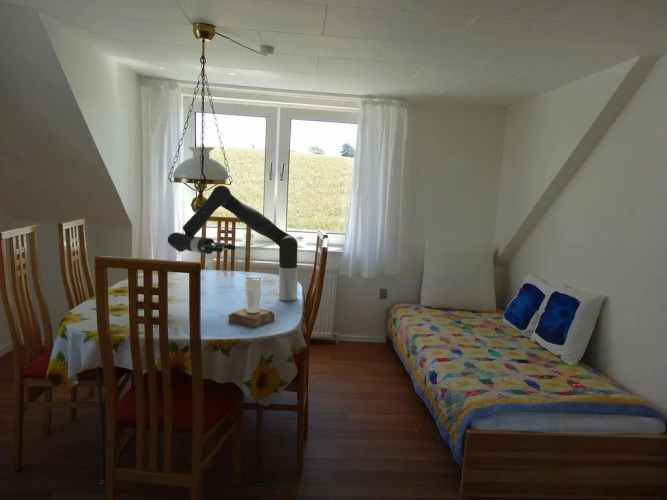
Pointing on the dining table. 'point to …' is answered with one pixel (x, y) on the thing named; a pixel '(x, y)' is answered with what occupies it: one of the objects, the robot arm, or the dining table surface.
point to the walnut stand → (251, 318)
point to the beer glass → (253, 294)
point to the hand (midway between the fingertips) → (228, 248)
